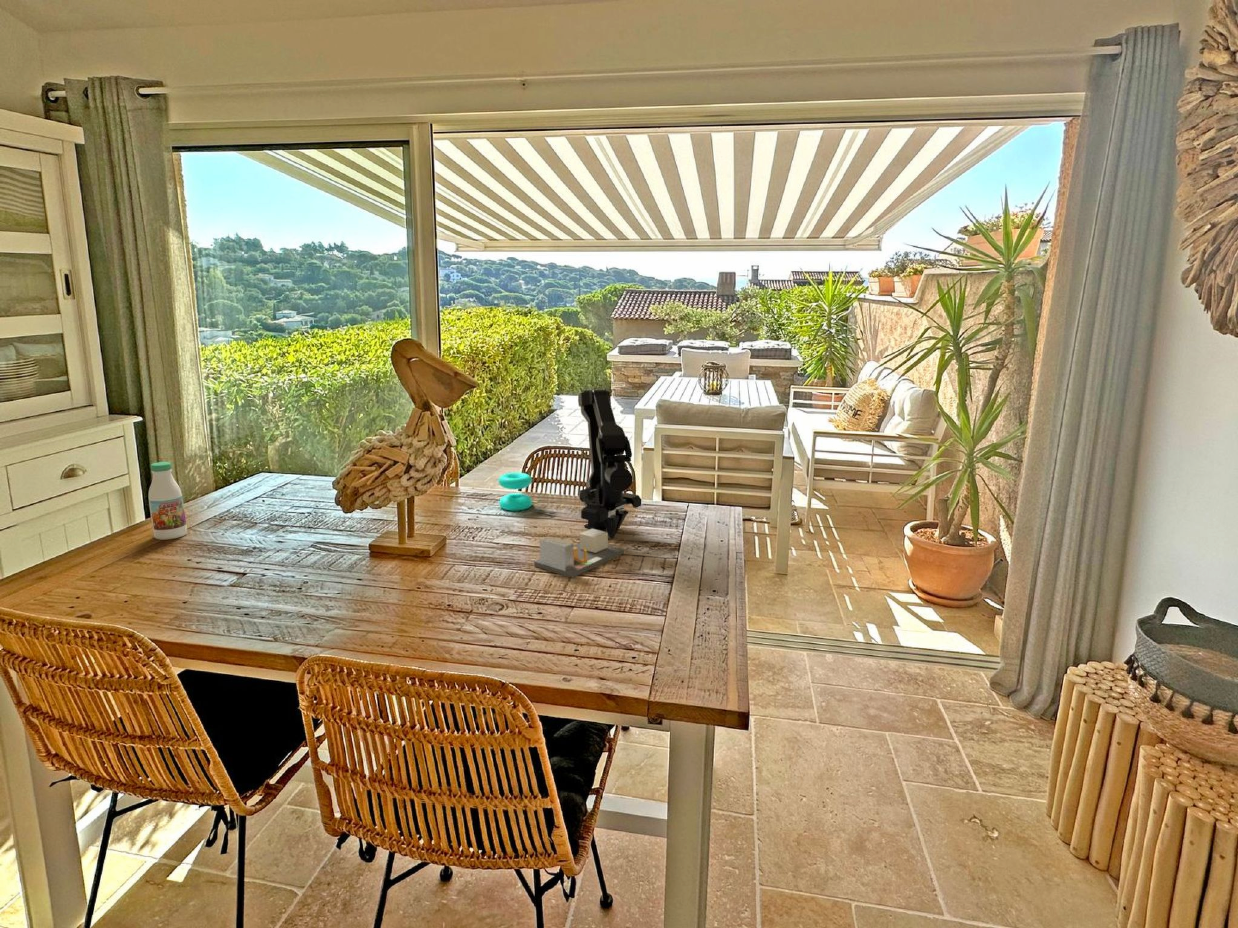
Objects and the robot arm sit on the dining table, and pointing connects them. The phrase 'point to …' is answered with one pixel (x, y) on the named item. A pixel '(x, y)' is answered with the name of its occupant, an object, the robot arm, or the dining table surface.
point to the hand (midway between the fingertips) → (611, 538)
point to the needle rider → (579, 558)
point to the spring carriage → (593, 540)
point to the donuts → (515, 500)
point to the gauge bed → (590, 555)
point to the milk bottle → (166, 504)
